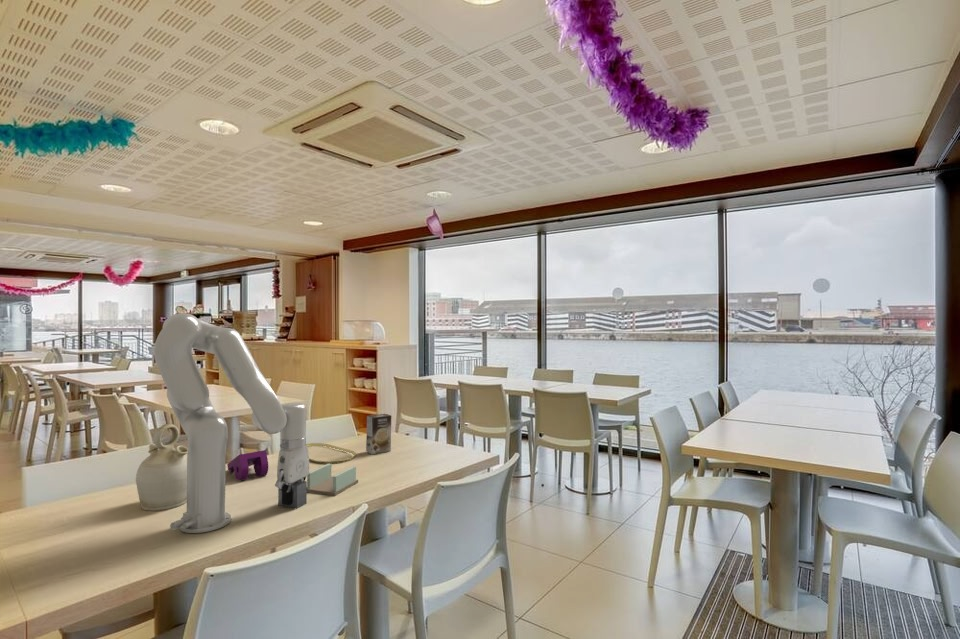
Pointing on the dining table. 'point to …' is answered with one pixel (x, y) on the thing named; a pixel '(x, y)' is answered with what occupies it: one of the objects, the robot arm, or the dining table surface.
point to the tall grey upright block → (295, 495)
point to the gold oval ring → (331, 447)
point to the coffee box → (378, 433)
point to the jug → (163, 473)
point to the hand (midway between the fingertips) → (292, 500)
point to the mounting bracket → (249, 464)
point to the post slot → (330, 480)
